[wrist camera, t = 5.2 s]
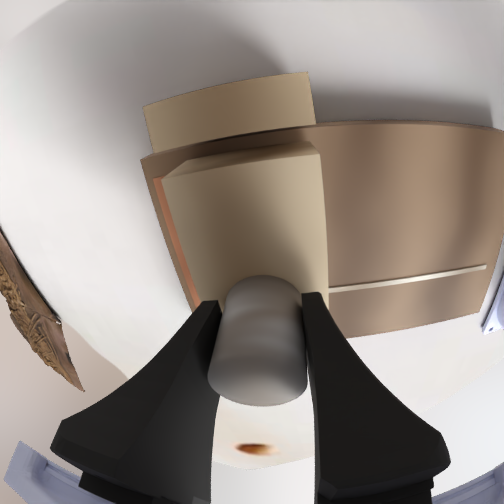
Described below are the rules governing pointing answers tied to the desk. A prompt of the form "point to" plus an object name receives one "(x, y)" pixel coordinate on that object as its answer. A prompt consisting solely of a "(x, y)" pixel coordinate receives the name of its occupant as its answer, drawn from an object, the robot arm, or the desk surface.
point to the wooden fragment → (34, 316)
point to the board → (384, 216)
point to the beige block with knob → (249, 228)
